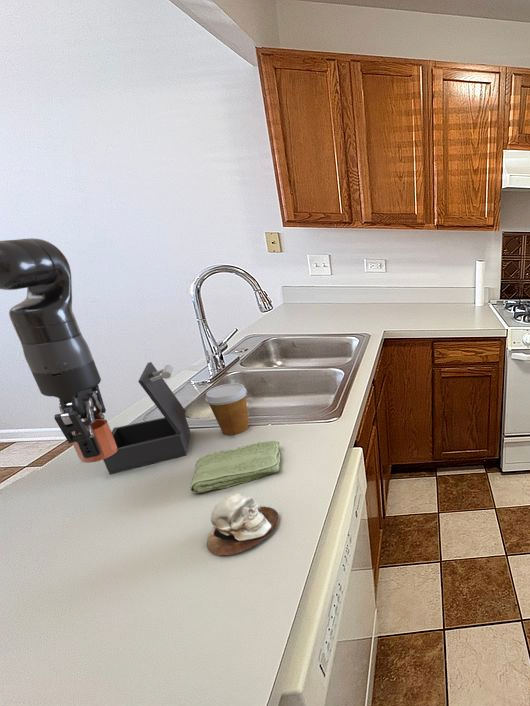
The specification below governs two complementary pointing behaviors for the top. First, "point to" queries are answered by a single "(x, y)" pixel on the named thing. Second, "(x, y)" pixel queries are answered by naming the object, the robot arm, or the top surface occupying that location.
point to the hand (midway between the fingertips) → (97, 447)
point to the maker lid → (163, 394)
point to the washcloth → (235, 466)
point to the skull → (239, 524)
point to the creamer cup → (100, 442)
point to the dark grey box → (147, 444)
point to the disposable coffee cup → (229, 407)
